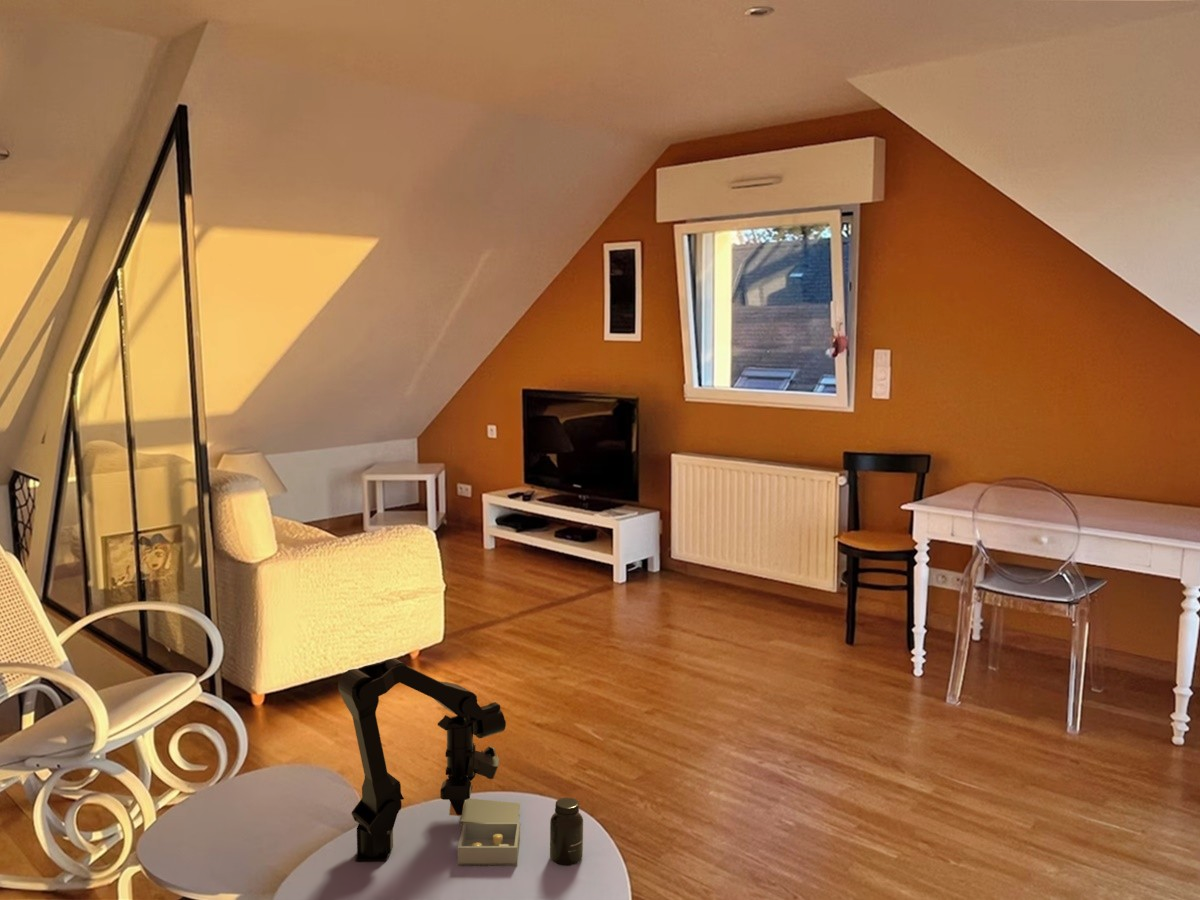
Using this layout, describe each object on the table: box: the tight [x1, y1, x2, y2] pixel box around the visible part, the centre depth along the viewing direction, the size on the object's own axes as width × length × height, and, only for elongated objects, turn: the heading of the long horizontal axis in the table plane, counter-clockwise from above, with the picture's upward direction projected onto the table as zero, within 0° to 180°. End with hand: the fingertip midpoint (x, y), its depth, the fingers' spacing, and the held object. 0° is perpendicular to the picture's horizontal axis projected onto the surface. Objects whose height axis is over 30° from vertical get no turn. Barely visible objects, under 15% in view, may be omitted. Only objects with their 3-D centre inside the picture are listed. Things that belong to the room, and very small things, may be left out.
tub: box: [457, 822, 521, 867], centre depth 197 cm, size 12×10×4 cm
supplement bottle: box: [549, 797, 584, 867], centre depth 195 cm, size 7×7×12 cm
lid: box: [449, 797, 521, 826], centre depth 209 cm, size 15×10×5 cm
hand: (460, 810), depth 209 cm, fingers closed on lid, 3 cm apart
